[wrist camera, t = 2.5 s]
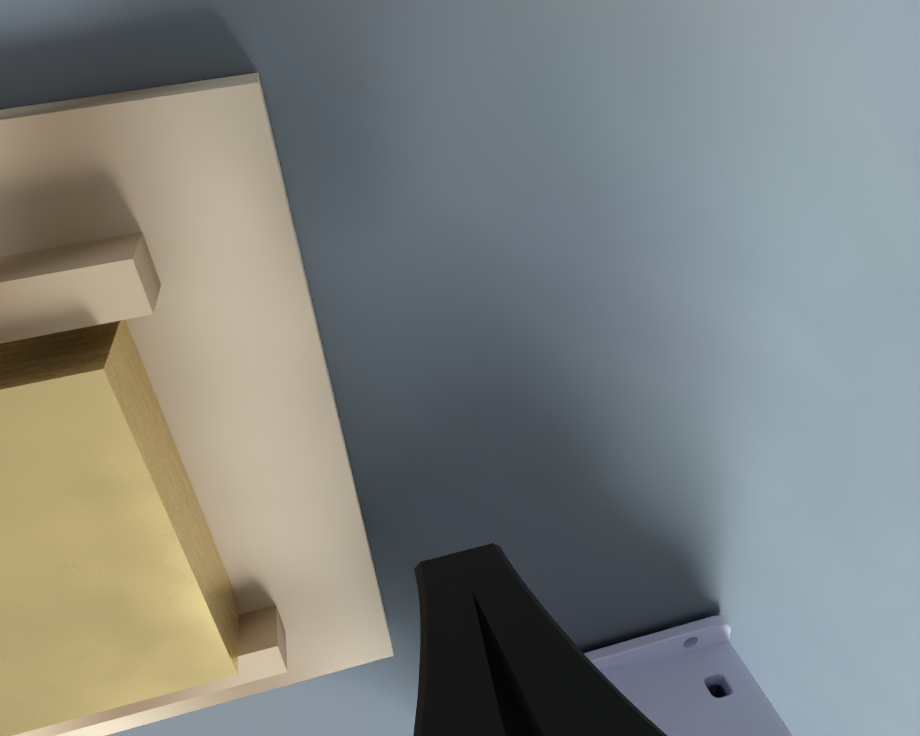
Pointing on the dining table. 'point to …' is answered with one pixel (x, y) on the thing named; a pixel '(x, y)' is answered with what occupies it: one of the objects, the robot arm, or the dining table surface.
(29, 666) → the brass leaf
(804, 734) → the dining table surface
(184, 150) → the jig board
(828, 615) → the dining table surface
